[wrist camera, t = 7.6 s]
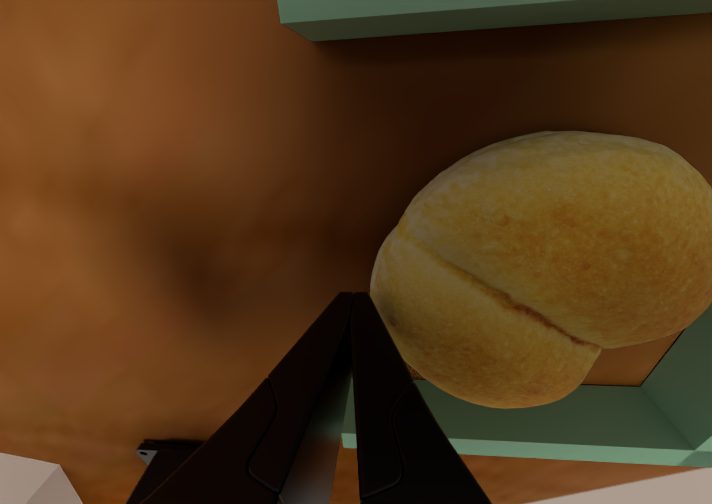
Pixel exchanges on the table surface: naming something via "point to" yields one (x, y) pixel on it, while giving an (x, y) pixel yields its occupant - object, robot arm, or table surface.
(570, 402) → the mini golf green
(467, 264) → the bread roll
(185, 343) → the table surface
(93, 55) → the table surface
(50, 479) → the milk
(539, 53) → the table surface
